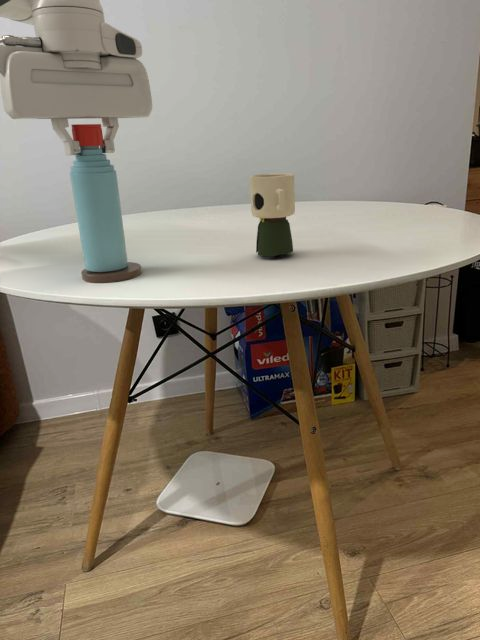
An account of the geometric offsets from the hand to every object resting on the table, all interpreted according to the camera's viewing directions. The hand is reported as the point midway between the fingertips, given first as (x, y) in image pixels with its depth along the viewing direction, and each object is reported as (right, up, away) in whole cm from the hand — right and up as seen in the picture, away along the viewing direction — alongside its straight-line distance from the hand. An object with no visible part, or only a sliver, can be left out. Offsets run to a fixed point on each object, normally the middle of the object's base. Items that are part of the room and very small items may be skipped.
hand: (91, 154), depth 71 cm
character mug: (+26, -12, +14) cm, 32 cm away
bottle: (0, -15, +7) cm, 16 cm away
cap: (0, +3, -1) cm, 4 cm away
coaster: (+1, -16, +7) cm, 18 cm away
